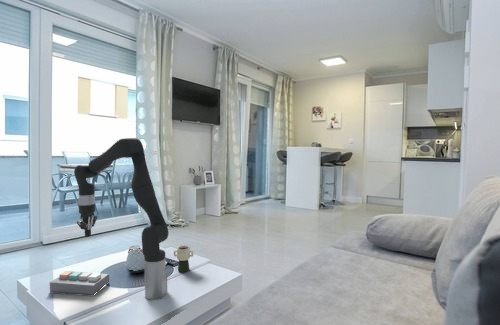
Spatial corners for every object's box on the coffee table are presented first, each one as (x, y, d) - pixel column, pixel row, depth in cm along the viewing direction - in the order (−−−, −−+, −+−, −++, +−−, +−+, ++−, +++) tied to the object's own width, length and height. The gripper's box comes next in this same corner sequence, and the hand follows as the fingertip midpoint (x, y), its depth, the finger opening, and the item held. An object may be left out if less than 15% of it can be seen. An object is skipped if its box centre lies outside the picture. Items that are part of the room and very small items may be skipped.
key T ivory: (101, 281, 142) (100, 273, 141) (96, 285, 138) (95, 277, 138) (93, 281, 142) (93, 273, 142) (88, 284, 138) (88, 276, 138)
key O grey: (91, 281, 142) (91, 273, 142) (86, 284, 139) (86, 276, 138) (84, 280, 143) (84, 272, 142) (78, 284, 139) (78, 276, 139)
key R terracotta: (72, 279, 143) (72, 271, 143) (66, 283, 140) (66, 275, 139) (65, 279, 144) (65, 271, 144) (59, 282, 140) (59, 274, 140)
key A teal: (82, 280, 143) (81, 272, 143) (76, 284, 139) (76, 275, 139) (74, 279, 143) (74, 271, 143) (69, 283, 140) (68, 275, 139)
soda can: (137, 271, 160) (136, 250, 159) (125, 270, 161) (125, 249, 161) (144, 266, 167) (143, 245, 166) (133, 265, 168) (132, 244, 168)
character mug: (194, 267, 166) (194, 245, 165) (192, 273, 158) (192, 249, 158) (175, 267, 166) (175, 245, 165) (172, 273, 158) (171, 249, 158)
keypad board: (109, 283, 146) (109, 273, 145) (93, 296, 134) (93, 285, 134) (68, 280, 148) (68, 271, 148) (50, 292, 136) (49, 282, 136)
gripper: (84, 206, 142) (85, 240, 143) (102, 201, 155) (102, 232, 156) (70, 205, 143) (71, 240, 144) (89, 200, 156) (89, 232, 157)
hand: (88, 236), depth 150 cm, fingers closed
